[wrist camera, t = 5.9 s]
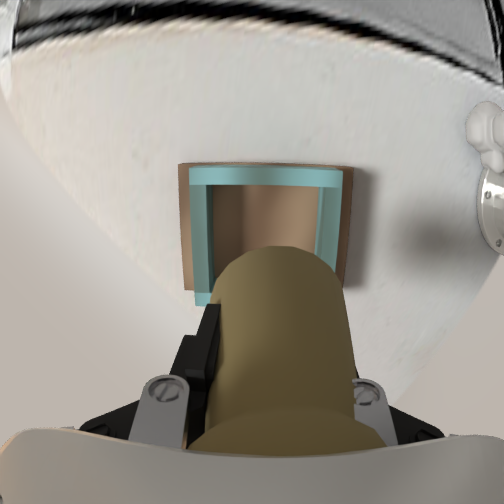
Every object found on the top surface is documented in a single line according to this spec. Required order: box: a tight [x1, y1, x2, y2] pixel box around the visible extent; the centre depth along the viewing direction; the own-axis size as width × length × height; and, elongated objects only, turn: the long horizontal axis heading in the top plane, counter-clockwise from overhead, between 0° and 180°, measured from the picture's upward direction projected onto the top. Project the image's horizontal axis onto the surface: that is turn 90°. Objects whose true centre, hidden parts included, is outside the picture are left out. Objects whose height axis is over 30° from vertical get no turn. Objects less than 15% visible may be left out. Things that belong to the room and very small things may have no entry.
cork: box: [187, 246, 388, 456], centre depth 9 cm, size 6×6×11 cm
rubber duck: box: [466, 101, 504, 173], centre depth 20 cm, size 5×7×8 cm
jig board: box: [178, 163, 353, 306], centre depth 26 cm, size 14×11×4 cm
